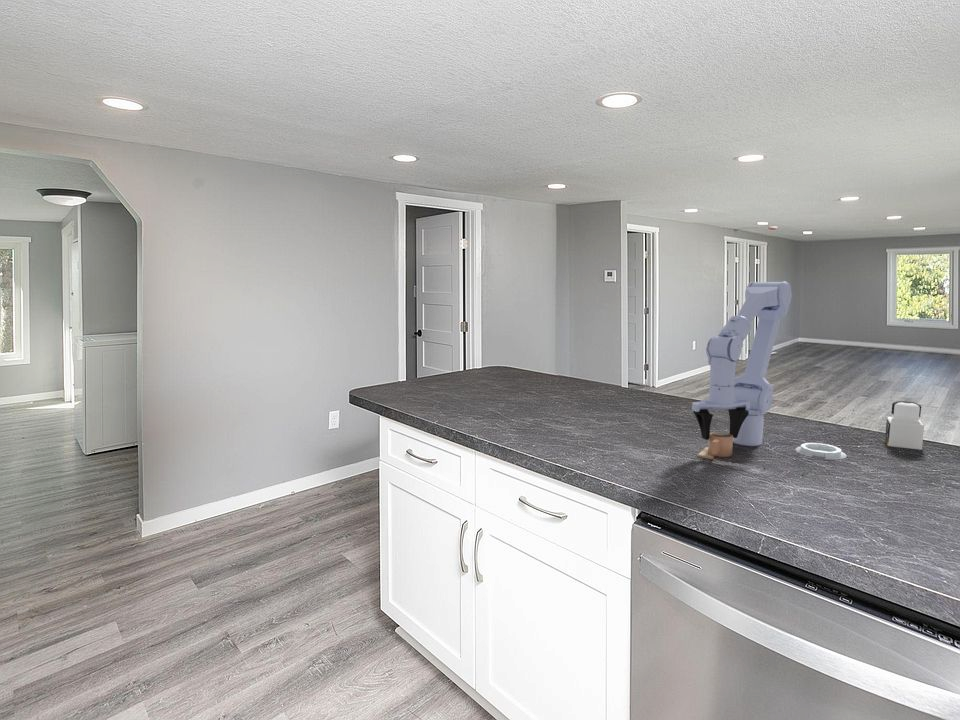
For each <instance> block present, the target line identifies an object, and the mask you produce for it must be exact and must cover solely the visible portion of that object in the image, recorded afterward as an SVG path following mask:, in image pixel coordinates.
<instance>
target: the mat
mask: <svg viewBox="0 0 960 720" xmlns="http://www.w3.org/2000/svg"><path fill="white" fill-rule="evenodd" d="M697 458H703V459H707V460H708V459H709V460H716V461H719V459H717V458H715V457H714V456H711V455H709V454H708V446H705V448H703V449H702V450H701V451H700V452H699V453H698V454H697ZM721 461H722V462H725V460H724V459H723V460H722V459H720V462H721ZM726 462H727V463H731V461H729V460H726Z"/></svg>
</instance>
